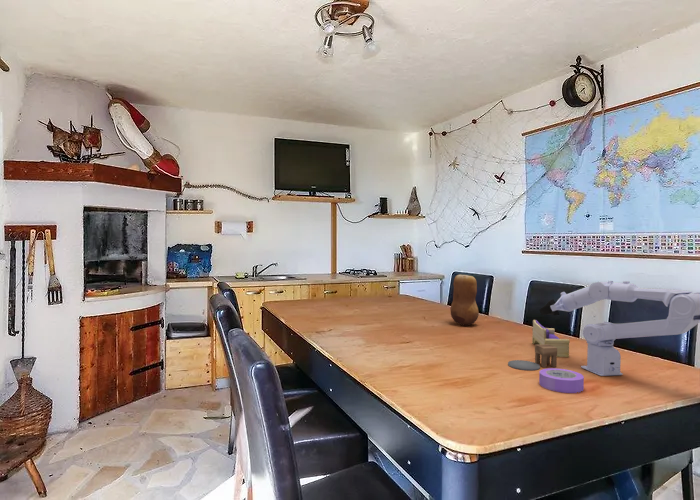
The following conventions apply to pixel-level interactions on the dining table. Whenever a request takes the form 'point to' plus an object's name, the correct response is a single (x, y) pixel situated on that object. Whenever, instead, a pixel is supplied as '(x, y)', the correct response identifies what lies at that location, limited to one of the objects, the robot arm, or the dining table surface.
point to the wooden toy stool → (546, 355)
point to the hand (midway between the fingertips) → (547, 309)
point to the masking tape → (561, 380)
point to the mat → (523, 365)
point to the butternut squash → (464, 300)
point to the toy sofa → (549, 339)
